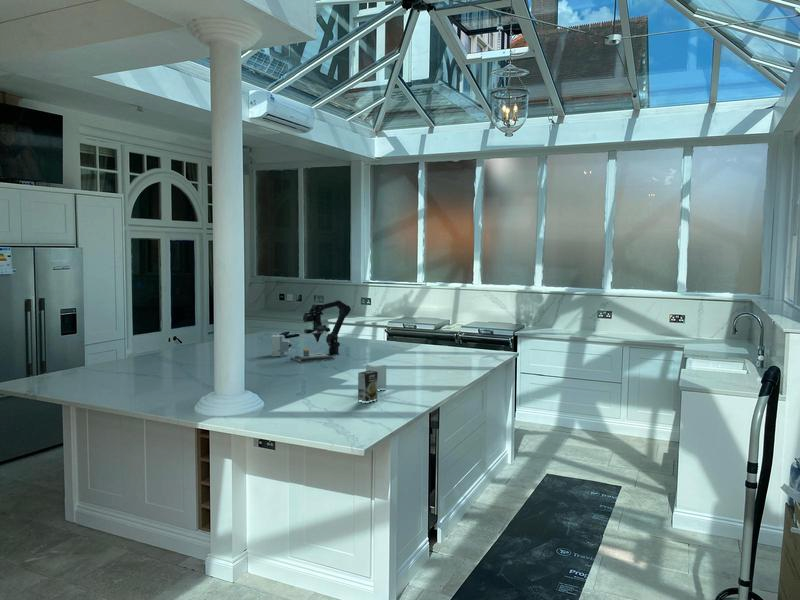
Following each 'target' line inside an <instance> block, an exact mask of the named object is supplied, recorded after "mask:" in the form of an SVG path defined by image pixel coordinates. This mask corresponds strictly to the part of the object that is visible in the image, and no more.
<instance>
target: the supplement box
mask: <svg viewBox="0 0 800 600" xmlns="http://www.w3.org/2000/svg"><path fill="white" fill-rule="evenodd" d="M369 370H370V371H376V372H378V382H377V389H380V388H386V389H387V364H383V363H380V362H374V363H373V362H372V363H366V364H365V371H369Z"/></svg>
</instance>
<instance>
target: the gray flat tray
mask: <svg viewBox="0 0 800 600" xmlns="http://www.w3.org/2000/svg"><path fill="white" fill-rule="evenodd" d="M293 357H295V358H297V357H299V356H298V355H294V356H293ZM331 357H332V355H328V356H324V357H314V358H304V359H301V361H304V360H314V359H324V358H331Z"/></svg>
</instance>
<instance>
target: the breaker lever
mask: <svg viewBox="0 0 800 600" xmlns="http://www.w3.org/2000/svg"><path fill="white" fill-rule="evenodd" d="M302 349H303V355H304V356H309V354H310V352H309V351H310V349H309V348H302Z"/></svg>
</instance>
